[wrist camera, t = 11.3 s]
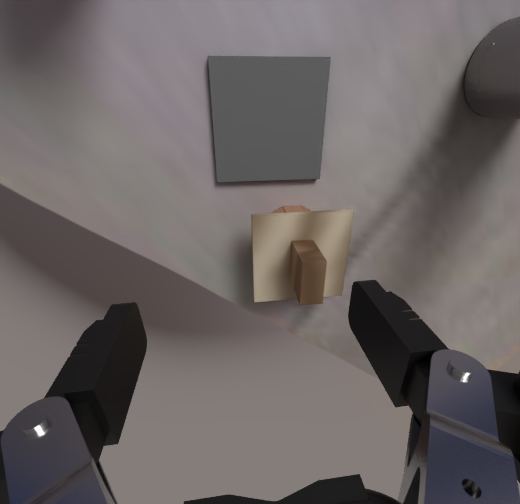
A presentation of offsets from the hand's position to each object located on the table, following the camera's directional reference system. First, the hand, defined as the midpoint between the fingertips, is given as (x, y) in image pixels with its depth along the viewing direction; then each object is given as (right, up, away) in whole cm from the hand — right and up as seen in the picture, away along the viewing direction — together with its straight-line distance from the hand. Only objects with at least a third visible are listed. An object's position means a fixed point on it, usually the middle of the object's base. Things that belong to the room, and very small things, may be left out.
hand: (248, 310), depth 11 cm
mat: (+1, +16, +21) cm, 26 cm away
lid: (+5, +2, +23) cm, 24 cm away
